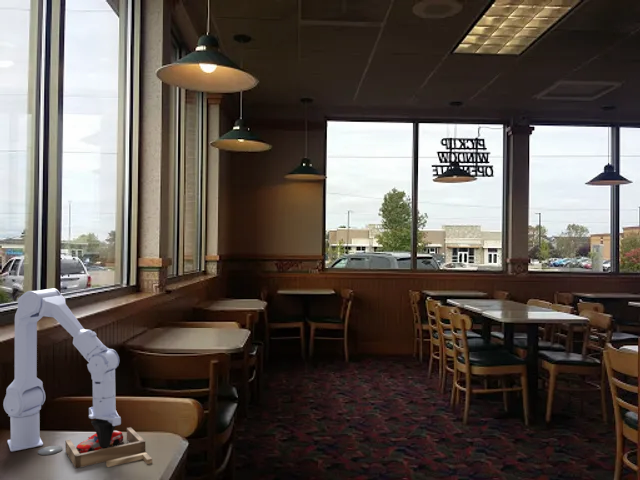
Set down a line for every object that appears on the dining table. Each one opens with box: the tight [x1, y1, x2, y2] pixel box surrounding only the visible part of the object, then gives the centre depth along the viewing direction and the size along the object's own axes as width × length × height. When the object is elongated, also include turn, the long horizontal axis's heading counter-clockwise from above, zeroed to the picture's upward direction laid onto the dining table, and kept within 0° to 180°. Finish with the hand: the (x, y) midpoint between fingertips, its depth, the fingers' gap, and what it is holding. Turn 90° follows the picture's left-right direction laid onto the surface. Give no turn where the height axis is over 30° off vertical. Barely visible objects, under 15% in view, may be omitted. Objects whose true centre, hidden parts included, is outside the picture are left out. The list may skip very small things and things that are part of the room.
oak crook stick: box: [105, 451, 153, 468], centre depth 142 cm, size 10×5×1 cm, turn 124°
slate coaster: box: [37, 445, 64, 456], centre depth 151 cm, size 6×6×1 cm
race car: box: [75, 430, 124, 454], centre depth 153 cm, size 13×5×4 cm, turn 143°
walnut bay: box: [64, 426, 146, 469], centre depth 150 cm, size 14×17×3 cm
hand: (104, 446), depth 150 cm, fingers closed
